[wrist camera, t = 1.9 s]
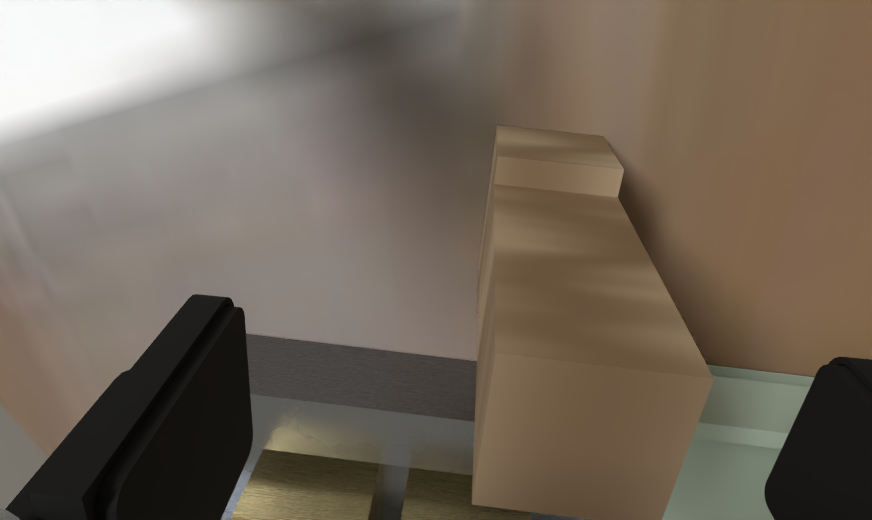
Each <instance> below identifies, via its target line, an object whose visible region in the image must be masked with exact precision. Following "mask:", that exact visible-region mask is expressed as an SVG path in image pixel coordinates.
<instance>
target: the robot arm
mask: <svg viewBox="0 0 872 520" xmlns="http://www.w3.org/2000/svg"><path fill="white" fill-rule="evenodd" d="M252 442H253V424H252V411H251V397H250V384H249V370H248V357H247V343H246V330H245V316H244V311H243V309H242V308H240V307H234V304H233V302H232V299H230V298H229V297H219V296H208V295H198V294H195V295H192V296H191V297H190V298H189V299H188V300H187V301H186V303H185V304H184V305H183V306H182V307H181V309H180V310H179V311H178V312H177V314H176V315H175V316H174V317H173V318H172V320H171V321H170V322H169V323H168V324H167V326H166V327H165V328H164V329H163V330H162V332H161V333H160V334H159V335H158V336H157V338H156V339H155V340H154V341H153V343H152V344H151V345H150V346H149V347H148V349H147V350H146V351H145V352H144V353H143V355H142V356H141V357H140V358H139V359H138V361H137V362H136V363H135V364H134V366H133V367H132V368H131V369H130V370H128V371H125V372H122V373H121V374H120V375H119V376H118V377H117V378H116V379H115V380H114V381H113V382H112V383H111V385H110V386H109V387H108V388H107V389H106V391H105V392H104V393H103V394H102V395H101V396H100V398H99V399H98V400H97V401H96V402H95V404H94V405H93V406H92V407H91V408H90V409H89V411H88V412H87V413H86V414H85V415H84V417H83V418H82V419H81V420H80V421H79V423H78V424H77V425H76V426H75V427H74V428H73V430H72V431H71V432H70V433H69V434H68V436H67V437H66V438H65V439H64V440H63V441H62V443H61V444H60V445H59V446H58V447H57V449H56V450H55V451H54V452H53V453H52V454H51V456H50V457H49V458H48V459H47V460H46V462H45V463H44V464H43V465H42V466H41V468H40V469H39V470H38V471H37V472H36V473H35V475H34V476H33V477H32V478H31V479H30V481H29V482H28V483H27V484H26V485H25V486H24V488H23V489H22V490H21V491H20V493H19V494H18V495H17V496H16V497H15V498H14V500H13V501H12V502H11V503H10V504H9V505H8V507H7V508H6V509H5V510H3V509H0V520H221V518H222V516H223V514H224V511H225V509H226V507H227V504H228V502H229V500H230V498H231V495H232V493H233V491H234V489H235V486H236V484H237V482H238V480H239V477H240V475H241V473H242V471H243V468H244V466H245V464H246V462H247V459H248V457H249V454H250V451H251V447H252ZM764 495H765V501H766V504H767V507H768V509H769V511H770V513H771V514H772V516H773V518H774V520H872V360H869V359H859V358H848V357H837V358H834V359H833V360H832V361H830V363H829V364H827V365H823V366H822V367H821V368H820V369H819V370H818V372H817V374H816V376H815V378H814V380H813V382H812V385H811V387H810V389H809V391H808V393H807V395H806V397H805V400H804V402H803V404H802V406H801V408H800V410H799V412H798V415H797V417H796V419H795V421H794V423H793V425H792V428H791V430H790V432H789V434H788V436H787V438H786V440H785V443H784V445H783V447H782V449H781V451H780V453H779V455H778V458H777V460H776V462H775V464H774V466H773V468H772V471H771V473H770V475H769V477H768V479H767V481H766V484H765V490H764Z"/></svg>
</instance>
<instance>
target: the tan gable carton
mask: <svg viewBox="0 0 872 520" xmlns="http://www.w3.org/2000/svg"><path fill="white" fill-rule="evenodd" d="M623 173H624V168H623V167H622V165H621V164H620V162H619V161H618V159H617V157H616V156H615V154H614V153H613V151H612V150H611V148H610V146H609V145H608V143H607V142H606V140H605V139H604V137H603V136H595V135H585V134H576V133H566V132H557V131H547V130H537V129H528V128H518V127H508V126H499V125H497V128H496V135H495V143H494V151H493V158H492V166H491V174H490V181H489V189H488V196H487V204H486V212H485V219H484V227H483V235H482V242H481V250H480V257H479V270H478V293H477V313H479V321H478V347H477V374H476V400H475V427H474V454H473V480H472V505H480V506H487V507H495V508H503V509H511V510H519V511H526V512H534V513H542V514H550V515H558V516H565V517H573V518H581V519H589V520H662V518H663V515H664V513H665V510H666V507H667V505H668V502H669V499H670V497H671V494H672V491H673V488H674V486H675V483H676V480H677V478H678V475H679V472H680V470H681V467H682V464H683V462H684V459H685V456H686V454H687V451H688V448H689V446H690V443H691V440H692V437H693V435H694V432H695V429H696V427H697V424H698V421H699V419H700V416H701V413H702V411H703V408H704V405H705V403H706V400H707V397H708V395H709V392H710V389H711V386H712V384H713V381H714V377H713V375H712V374H711V372H710V370H709V368H708V366H707V364H706V362H705V360H704V359H703V357H702V355H701V353H700V351H699V349H698V347H697V345H696V344H695V342H694V340H693V338H692V336H691V334H690V332H689V330H688V329H687V327H686V325H685V323H684V321H683V319H682V317H681V315H680V313H679V312H678V310H677V308H676V306H675V304H674V302H673V300H672V298H671V297H670V295H669V293H668V291H667V289H666V287H665V285H664V283H663V282H662V280H661V278H660V276H659V274H658V272H657V270H656V268H655V267H654V265H653V263H652V261H651V259H650V257H649V255H648V253H647V251H646V250H645V248H644V246H643V244H642V242H641V240H640V238H639V236H638V235H637V233H636V231H635V229H634V227H633V225H632V223H631V221H630V220H629V218H628V216H627V214H626V212H625V210H624V208H623V206H622V205H621V203H620V201H619V199H618V194H619V190H620V186H621V181H622V177H623Z"/></svg>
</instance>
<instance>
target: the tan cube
mask: <svg viewBox="0 0 872 520" xmlns="http://www.w3.org/2000/svg"><path fill="white" fill-rule="evenodd" d="M383 478H384V464H378V463H371V462H363V461H355V460H347V459H339V458H331V457H323V456H315V455H308V454H300V453H292V452H284V451H276V450H268V449H263V451H262V453H261V455H260V457H259V459H258V461H257V463H256V465H255V468H254V470H253V472H252V474H251V476H250V478H249V480H248V483H247V485H246V487H245V489H244V491H243V493H242V495H241V497H240V500H239V502H238V504H237V506H236V508H235V510H234V512H233V514H232V520H380V519H381V511H382V495H383Z"/></svg>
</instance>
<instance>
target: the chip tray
mask: <svg viewBox="0 0 872 520" xmlns="http://www.w3.org/2000/svg"><path fill="white" fill-rule="evenodd" d="M707 366H708V368H709V370H710V372H711V374H712V375H713V377H714V381H713V384H712V386H711V389H710V392H709V395H708V397H707V400H706V403H705V405H704V408H703V411H702V413H701V416H700V419H699V421H698V424H697V427H696V429H695V432H694V435H693V437H692V440H691V443H690V446H689V448H688V451H687V454H686V456H685V459H684V462H683V464H682V467H681V470H680V472H679V475H678V478H677V480H676V483H675V486H674V488H673V491H672V494H671V497H670V499H669V502H668V505H667V507H666V510H665V513H664V515H663V518H662V520H774V518H773V516H772V514H771V513H770V511H769V509H768V507H767V504H766V501H765V495H764V490H765V484H766V481H767V479H768V477H769V475H770V473H771V471H772V468H773V466H774V464H775V462H776V460H777V458H778V455H779V453H780V451H781V449H782V447H783V445H784V443H785V440H786V438H787V436H788V434H789V432H790V430H791V428H792V425H793V423H794V421H795V419H796V417H797V415H798V412H799V410H800V408H801V406H802V404H803V402H804V400H805V397H806V395H807V393H808V391H809V389H810V387H811V385H812V382H813V380H814V378H815V377H808V376H800V375H791V374H783V373H774V372H766V371H757V370H749V369H740V368H732V367H723V366H715V365H707Z"/></svg>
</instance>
